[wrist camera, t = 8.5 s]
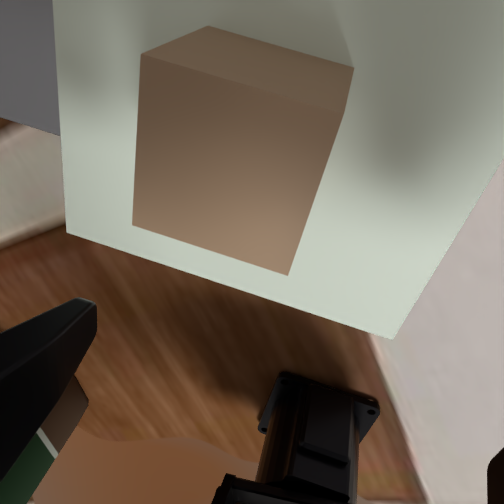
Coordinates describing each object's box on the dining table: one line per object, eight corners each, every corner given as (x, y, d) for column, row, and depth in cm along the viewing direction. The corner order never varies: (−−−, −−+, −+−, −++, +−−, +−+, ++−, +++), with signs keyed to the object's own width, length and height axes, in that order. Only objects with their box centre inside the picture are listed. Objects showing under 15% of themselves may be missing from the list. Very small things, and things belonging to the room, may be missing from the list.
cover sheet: (391, 325, 17) (395, 437, 13) (78, 222, 17) (-8, 298, 14) (647, -108, 9) (857, -155, 5) (58, -254, 10) (-153, -389, 6)
